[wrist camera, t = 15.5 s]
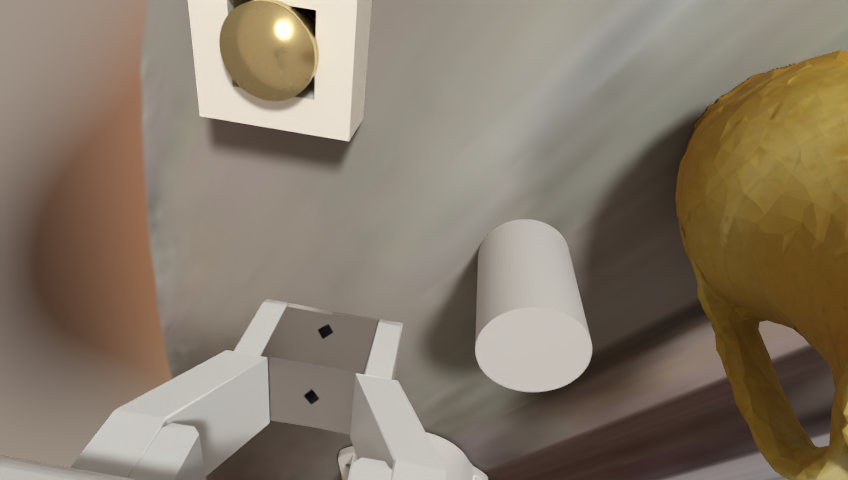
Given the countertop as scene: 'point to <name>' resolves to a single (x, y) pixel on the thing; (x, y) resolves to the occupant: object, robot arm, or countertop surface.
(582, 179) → the countertop surface
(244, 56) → the brass dome knob
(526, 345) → the white cylinder
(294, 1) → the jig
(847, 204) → the pitcher
